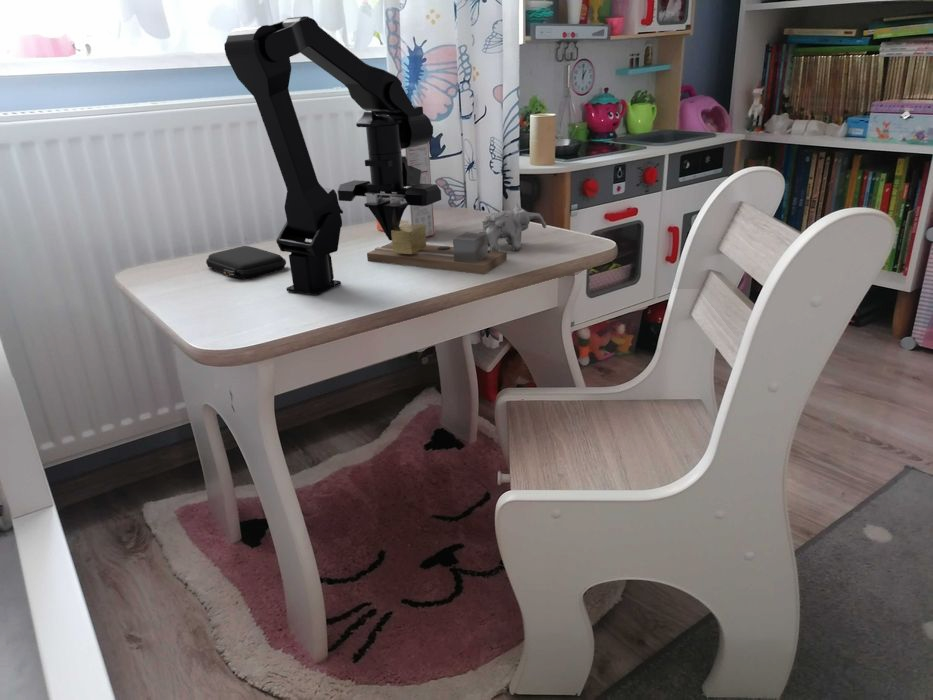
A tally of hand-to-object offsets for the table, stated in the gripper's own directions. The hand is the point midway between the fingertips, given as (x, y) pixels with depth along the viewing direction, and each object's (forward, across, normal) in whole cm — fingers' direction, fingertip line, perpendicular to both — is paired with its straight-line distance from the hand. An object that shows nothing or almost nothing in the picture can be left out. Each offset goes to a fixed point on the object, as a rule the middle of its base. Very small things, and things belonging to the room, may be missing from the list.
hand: (392, 240), depth 127 cm
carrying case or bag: (+4, +23, +15) cm, 28 cm away
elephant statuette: (+4, -18, -15) cm, 23 cm away
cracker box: (+4, +9, -18) cm, 20 cm away
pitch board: (+4, -8, -1) cm, 9 cm away
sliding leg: (+2, -4, -1) cm, 4 cm away
